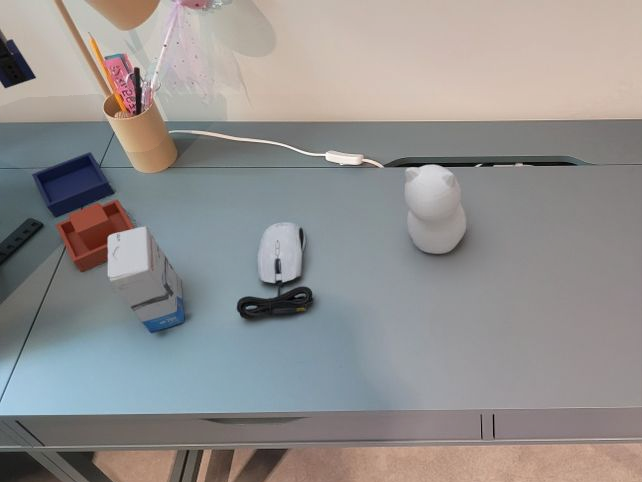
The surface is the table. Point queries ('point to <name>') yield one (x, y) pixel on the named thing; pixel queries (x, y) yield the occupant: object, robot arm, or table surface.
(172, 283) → the ink box
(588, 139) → the table surface
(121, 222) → the terracotta tray
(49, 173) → the navy tray
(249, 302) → the computer mouse
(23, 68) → the navy block
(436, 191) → the cat figurine
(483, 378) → the table surface
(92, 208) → the terracotta block
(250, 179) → the table surface
